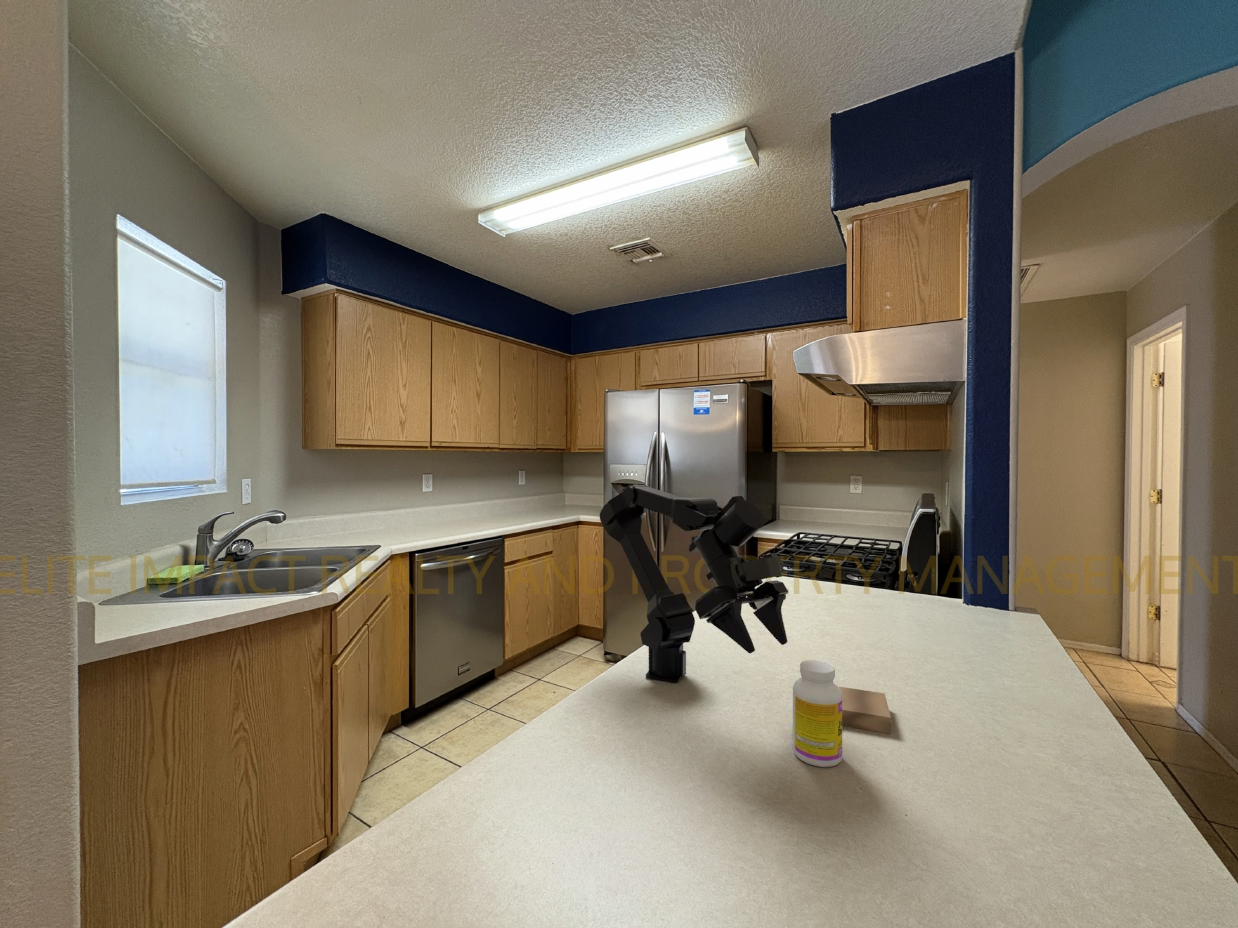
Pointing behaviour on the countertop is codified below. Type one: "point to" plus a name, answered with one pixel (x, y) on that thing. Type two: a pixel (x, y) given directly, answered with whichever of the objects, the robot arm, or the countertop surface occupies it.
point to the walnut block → (865, 710)
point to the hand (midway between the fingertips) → (769, 647)
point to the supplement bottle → (817, 715)
